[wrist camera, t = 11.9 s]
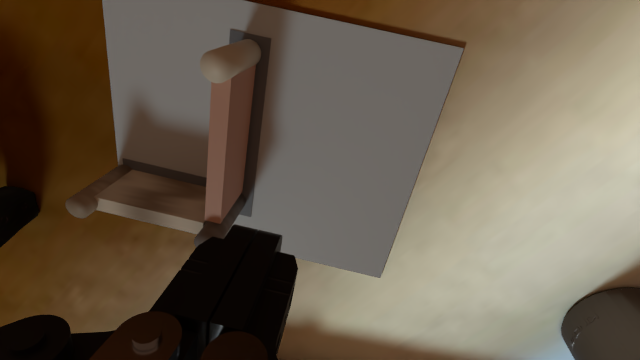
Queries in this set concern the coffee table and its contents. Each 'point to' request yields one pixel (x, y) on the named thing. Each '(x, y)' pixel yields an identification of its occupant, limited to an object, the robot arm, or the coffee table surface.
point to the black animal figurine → (15, 211)
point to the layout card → (285, 117)
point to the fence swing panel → (228, 122)
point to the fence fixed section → (153, 202)
